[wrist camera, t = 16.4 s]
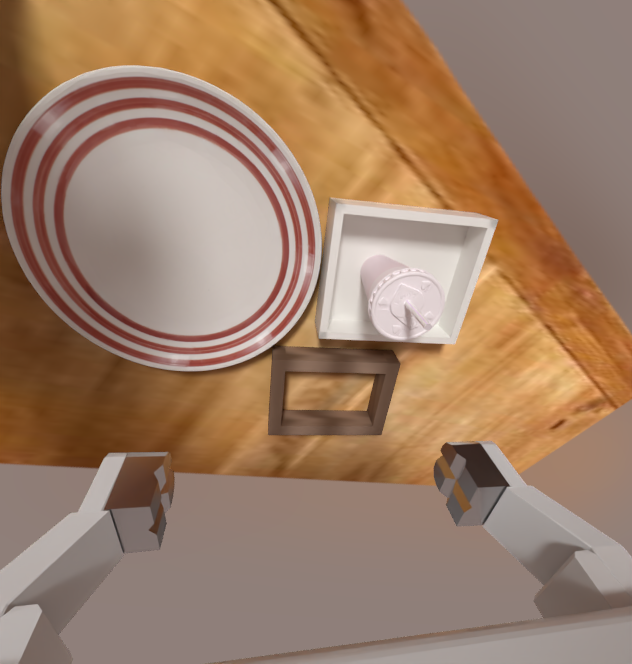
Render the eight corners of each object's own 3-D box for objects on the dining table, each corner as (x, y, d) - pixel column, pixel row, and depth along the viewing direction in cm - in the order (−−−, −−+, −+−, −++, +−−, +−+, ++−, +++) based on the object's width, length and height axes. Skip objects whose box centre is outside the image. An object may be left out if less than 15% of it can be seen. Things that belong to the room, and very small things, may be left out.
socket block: (268, 418, 45) (268, 434, 43) (272, 345, 40) (272, 359, 38) (375, 419, 48) (381, 434, 45) (392, 350, 42) (400, 363, 40)
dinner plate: (347, 316, 40) (353, 330, 37) (133, 387, 41) (122, 405, 38) (259, 21, 26) (258, 5, 24) (-52, 140, 28) (-90, 138, 25)
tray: (314, 321, 39) (318, 338, 36) (329, 197, 33) (336, 203, 29) (439, 327, 42) (454, 344, 38) (476, 212, 35) (498, 219, 32)
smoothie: (397, 231, 34) (466, 276, 22) (412, 285, 38) (479, 351, 25) (339, 256, 35) (375, 313, 23) (358, 307, 38) (398, 382, 26)
